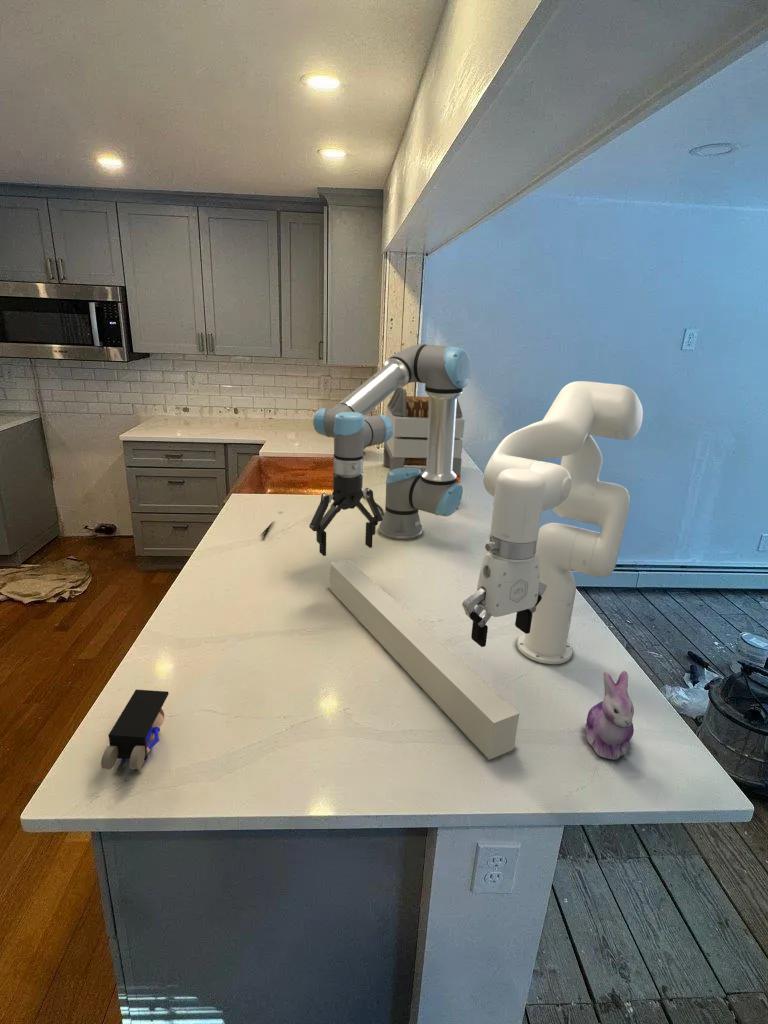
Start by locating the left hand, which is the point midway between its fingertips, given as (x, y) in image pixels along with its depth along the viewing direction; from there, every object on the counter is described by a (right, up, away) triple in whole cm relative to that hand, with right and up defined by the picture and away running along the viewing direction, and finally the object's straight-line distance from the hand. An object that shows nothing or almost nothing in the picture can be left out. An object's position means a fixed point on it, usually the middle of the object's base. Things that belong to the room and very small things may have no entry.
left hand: (346, 550), depth 152 cm
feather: (-30, +5, +50) cm, 58 cm away
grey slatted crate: (+27, +29, +123) cm, 129 cm away
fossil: (-4, +41, +153) cm, 159 cm away
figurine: (+52, -33, -46) cm, 77 cm away
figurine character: (-33, -32, -53) cm, 70 cm away
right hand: (+30, -11, -54) cm, 63 cm away
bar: (+14, -22, -21) cm, 34 cm away
